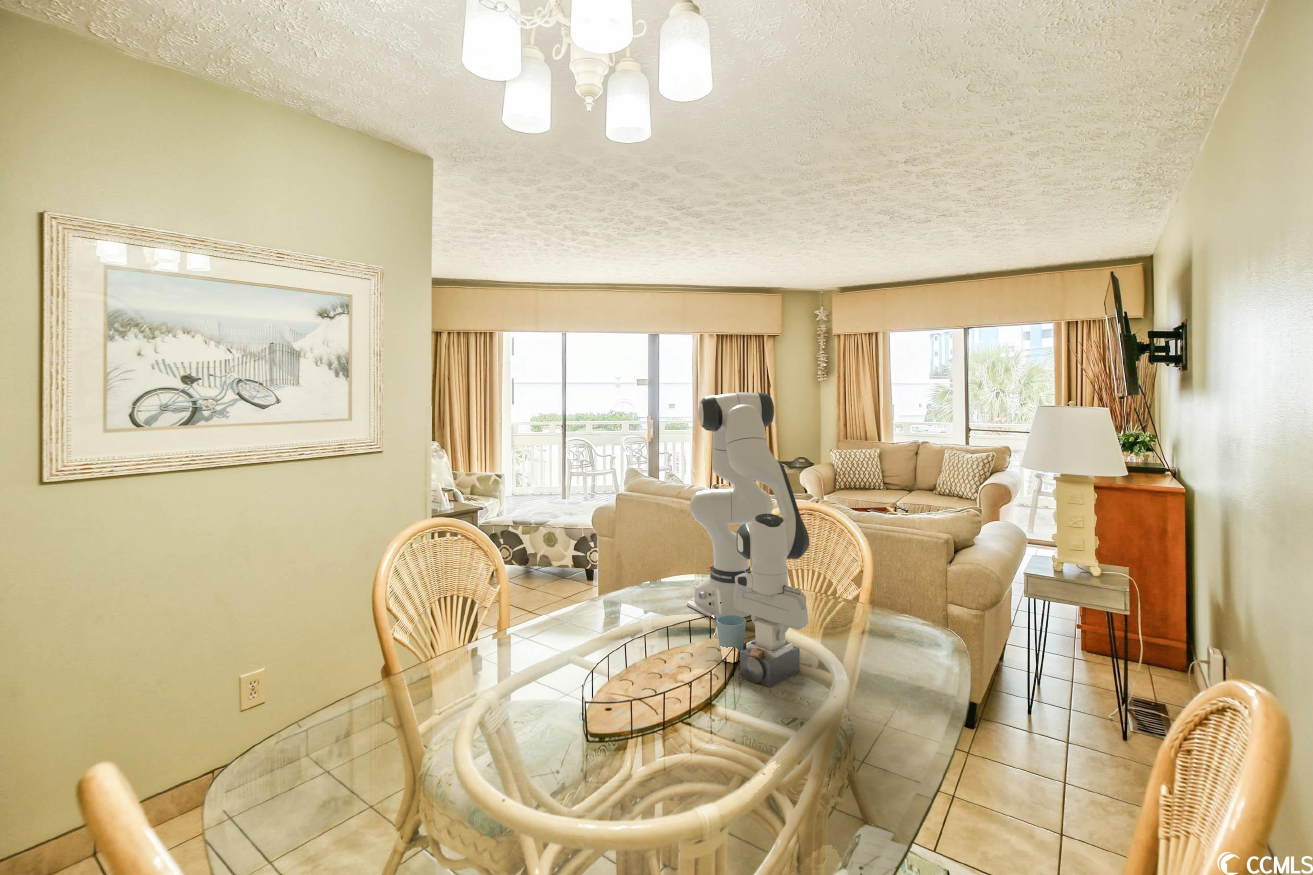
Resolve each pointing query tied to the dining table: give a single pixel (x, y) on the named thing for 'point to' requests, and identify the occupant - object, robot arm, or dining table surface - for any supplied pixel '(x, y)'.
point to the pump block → (767, 634)
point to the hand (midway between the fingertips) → (769, 636)
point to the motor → (769, 663)
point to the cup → (731, 631)
